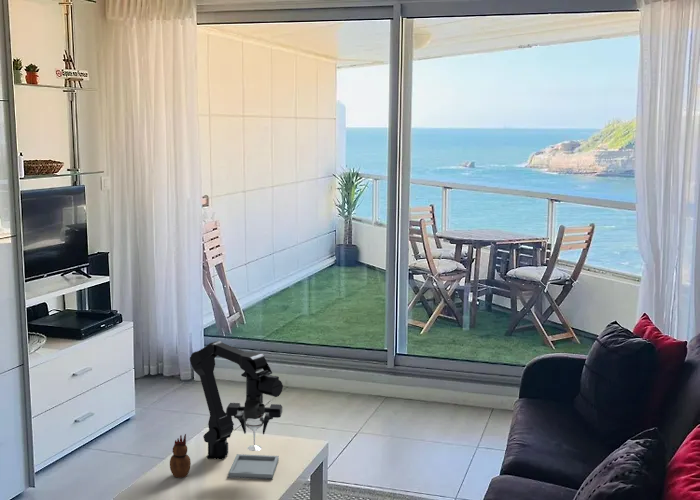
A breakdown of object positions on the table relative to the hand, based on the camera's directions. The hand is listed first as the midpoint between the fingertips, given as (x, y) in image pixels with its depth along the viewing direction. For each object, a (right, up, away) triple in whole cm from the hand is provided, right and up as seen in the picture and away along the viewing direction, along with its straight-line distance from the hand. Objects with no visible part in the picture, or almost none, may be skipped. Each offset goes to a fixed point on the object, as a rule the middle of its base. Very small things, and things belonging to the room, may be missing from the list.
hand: (254, 433), depth 264 cm
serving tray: (0, -13, +2) cm, 13 cm away
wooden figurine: (-25, -13, -5) cm, 28 cm away
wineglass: (0, -5, +1) cm, 5 cm away
